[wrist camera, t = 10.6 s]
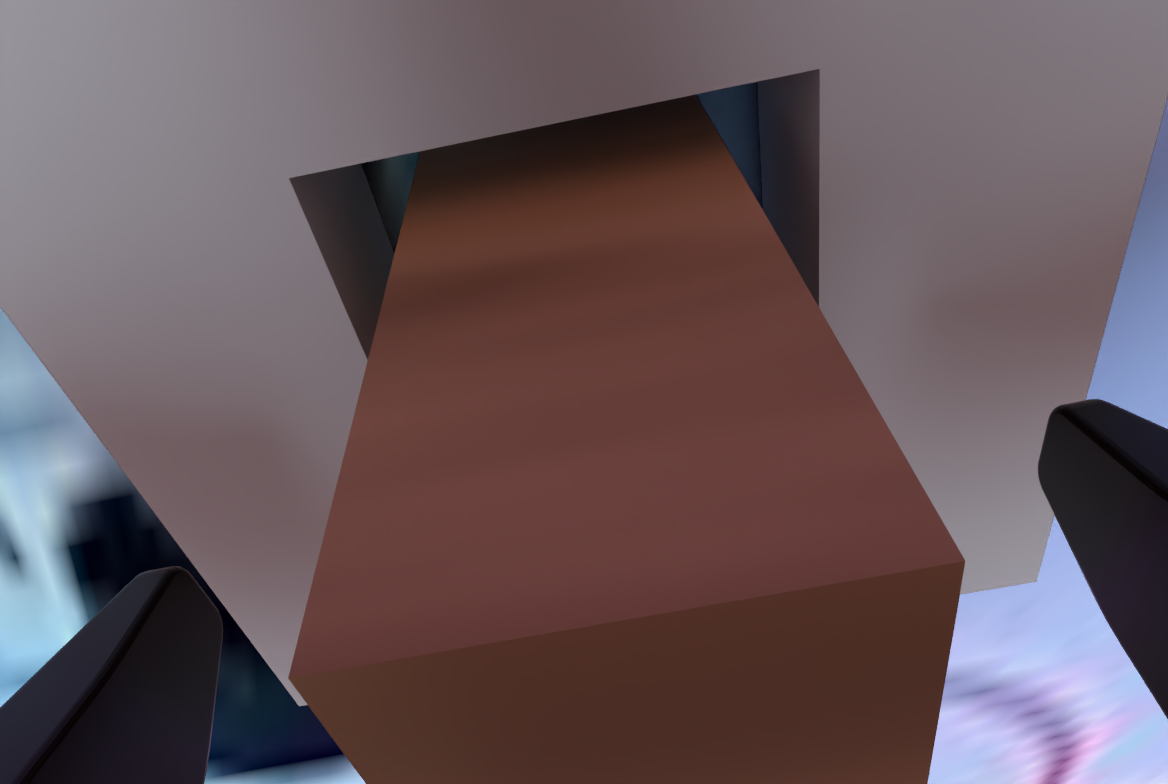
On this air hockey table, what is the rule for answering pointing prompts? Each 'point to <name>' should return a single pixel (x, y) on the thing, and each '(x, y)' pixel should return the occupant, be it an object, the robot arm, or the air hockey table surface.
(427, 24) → the gauge block
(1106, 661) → the air hockey table surface
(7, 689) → the air hockey table surface
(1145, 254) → the air hockey table surface
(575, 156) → the brown rectangular block
